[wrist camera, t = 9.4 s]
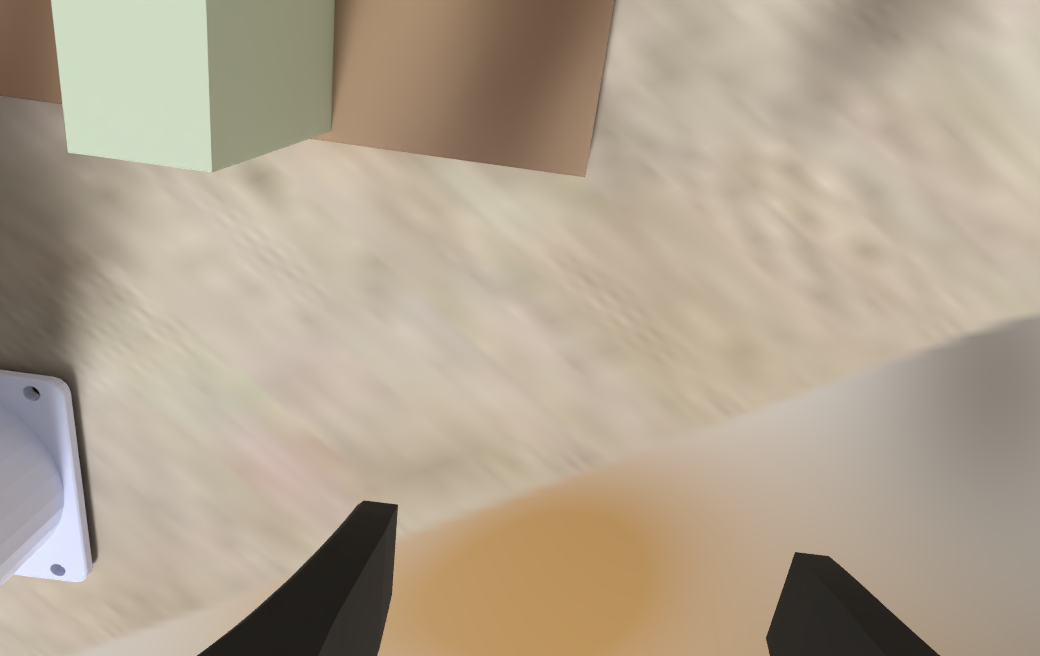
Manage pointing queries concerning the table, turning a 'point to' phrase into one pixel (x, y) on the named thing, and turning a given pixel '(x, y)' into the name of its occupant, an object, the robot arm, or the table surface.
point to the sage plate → (193, 78)
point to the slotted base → (419, 75)
